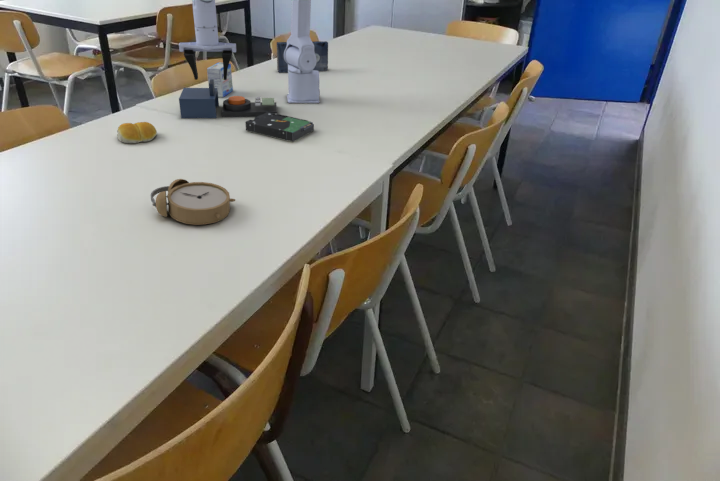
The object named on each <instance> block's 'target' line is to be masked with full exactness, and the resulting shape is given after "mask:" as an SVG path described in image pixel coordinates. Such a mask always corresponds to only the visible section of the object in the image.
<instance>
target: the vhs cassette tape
mask: <svg viewBox="0 0 720 481" xmlns="http://www.w3.org/2000/svg"><path fill="white" fill-rule="evenodd" d="M312 42H313V44H314V52H315V55H316V58H317V62H316V66H315V67H314V69H313V70H317V71H319V72H327V71H328V70H329V42H328V41H321V40H320V41H319V40H318V41H317V40H316V41H312ZM286 46H287V41H277V42H276V70H277V72H278V73H279V74H280V73H281V74H282V73H288V64H287V63H286V62H285V60H284V51H285V49H286Z"/></svg>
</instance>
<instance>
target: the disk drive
mask: <svg viewBox="0 0 720 481" xmlns="http://www.w3.org/2000/svg"><path fill="white" fill-rule="evenodd" d="M314 130H315V124H314V121H309V120H308V119H302V118H298V117H295V116H294V117H293V116H288V115H285V114H280V113H277V114H276V113H271V112H266V113H264V114H262V115H260V116H257V117H254V118H253V119H248V120H246V121H245V131H247V132H249V133H254V134H258V135H262V136H265V137H271V138H275V139H279V140H282V141H287V142H296V141H298V140H300V139H301V138H303V137H305V136H307V135H309V134H311V133H313V131H314Z"/></svg>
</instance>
